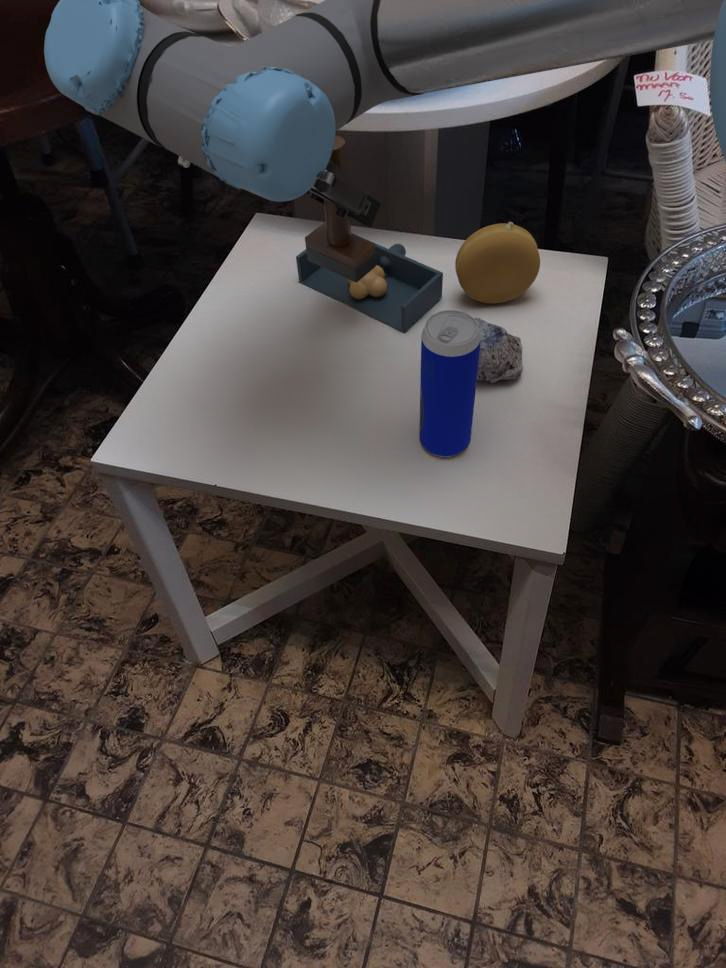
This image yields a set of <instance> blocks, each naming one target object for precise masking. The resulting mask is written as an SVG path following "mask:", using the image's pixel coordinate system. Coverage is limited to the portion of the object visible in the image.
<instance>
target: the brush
mask: <svg viewBox="0 0 726 968" xmlns="http://www.w3.org/2000/svg"><path fill="white" fill-rule="evenodd" d="M346 152H347V151H346V141H345V139H344V138H343V137H342V136H339V135H335V141H334V147H333V151H332V154H331V157H330V160H331V161H333V162H335V163H334V164H336V165H337V166H338V167H339V169H340V170H341V171H343V172H344V173H345V174H347V175H348V167H347V153H346ZM323 200H324V205H323V208H324V218H325V221H324V222H322V224H320V225H319V226H317V228H315V229H314V230H313V231H311V232H309V234H307V235H306V236H304V242H305V249H306V252H307V260H308V261H310V262H312V263H315V264H317V265H319V266H321V267H323V268H325V269H327V270H330V271H332V272H334V273H336V274H338V275H340V276H343V277H345V278H347V279H349V280H351V281H353V282H356V283H357V282H358V281H359V280H360V279H362V278H363V277H364V276H365V275H366V274H368V273H369V272H370V271H371V270H372V269H374V268H375V267H376V256H375V242H374V241H371V240H369V239H367V238H364V237H362V236H360V235H358V236H357V234H355V233H353V234H352V226H351V223H352V222H351V217H350V216H348V215H346V218H342V217H340V216H338V215H336V212H337V209H336V205H334V204H332V203H330V202H329V201H327V200H325V199H323ZM354 234H355V235H354ZM359 236H360V237H359ZM361 237H362V238H361ZM366 239H367V240H366ZM368 240H369V241H368ZM373 242H374V243H373Z"/></svg>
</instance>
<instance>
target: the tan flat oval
mask: <svg viewBox="0 0 726 968" xmlns="http://www.w3.org/2000/svg"><path fill="white" fill-rule="evenodd" d="M454 267H455V273H456V277H457V279H458V283H459V285H460V288H461V290H463V292H464V293H465V294H466V295H467V296H468V297H470V298H471V299H473V300H475V301H477V302H479V303H483V304H500V303H505V302H509V301H512V300H514V299H516V298H518V297H520V296H521V295H523V294H524V293H525V292H526V291H527V290H528V289H530V287H531V286H532V285H533V283H534V282H535V281H536V279H537V277H538V275H539V272H540V269H541V255H540V252H539V248H538V244H537V242H536V240H535V238H534V237H533V235H532V234H531V233H530V232H529V231H528V230H526V229H525V228H524V227H522V226H519V225H517V224H514V222H512V221H508V223H505V222H504V223H494V224H491V225H487V226H485V227H484V226H483V227H482V228H480V229H478V230H476V231H475V232H473V233H472V234H471V235H469V236H468V237H467V238H466V239H465V240H464V242H463V243H462V244H461V246H460V248H459V249H458V251H457V253H456V257H455V265H454Z"/></svg>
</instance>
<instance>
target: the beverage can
mask: <svg viewBox="0 0 726 968" xmlns="http://www.w3.org/2000/svg"><path fill="white" fill-rule="evenodd" d="M480 343H481V333H480V330H479V326H478V323H477V322H476V320H475V319H474V318H473V316H472V315H471V314H469V313H467V312H464V311H462V310H457V309H446V310H441V311H438V312H435V313H433V314H432V315H430V316H429V317H428V318H427V319H426V321H425V324H424V326H423V329H422V331H421V337H420V379H419V381H420V383H419V388H420V389H419V428H418V429H419V430H418V431H419V432H418V433H419V434H418V436H419V437H418V439H419V442H420V444H421V446H422V447H423V448H424V450H426V452H429V453H430V454H432V455H433V456H436V457H440V458H451V457H455V456H457V455H459V454H461V453H463V452H464V451H465V450H466V449H467V448H468V447H469V446H470V444H471V440H472V431H473V420H474V411H475V403H476V402H475V401H476V400H475V399H476V393H477V392H476V391H477V381H478V380H477V372H478V362H479V353H480Z"/></svg>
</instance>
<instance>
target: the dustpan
mask: <svg viewBox="0 0 726 968" xmlns="http://www.w3.org/2000/svg"><path fill="white" fill-rule="evenodd" d="M351 233H352V232H351ZM352 234H354V235H357V234H356V233H352ZM357 236H359V237H361V238H363V237H362V236H361V235H357ZM365 239H366V240H368V241H370V240H369V239H367V238H365ZM372 242H373V243H375V242H374V241H372ZM406 254H407V250H406V248H405V246H404V245H403V244H401V243H394V244H393V245H391V246H390V247H389V248H388V247H385V246H383V245H380V244H378V243H375V256H376V265H378V266H380V267H381V268H382V269H383V270H384V273H385V278H384V279H385V281H386V282H387V291H386V293H385V294H384V295H383V296H381V297H374V296H372V295H367V296H366V297H365V298H363V299H356V298H354V297H353V296H352V295H351V293H350V291H349V287H350V284H349V282H348V279H347V278H345V277H343V276H340V275H338V274H336V273H334V272H332V271H330V270H327V269H325V268H323V267H321V266H319V265H317V264H315V263H312V262H310V261H308V260H307V252H306V248H305V249H303V250H302V251H301V252H300V253H299V254H297V255H296V256H295V260H296V261H295V262H296V268H297V269H296V270H297V275H298V282H299V283H300V284H302V285H304V286H306V287H308V288H310V289H313V290H315V291H316V292H319V293H321V294H323V295H325V296H327V297H329V298H331V299H333V300H335V301H337V302H339V303H342V304H343V305H346V306H348V307H349V308H351V309H354V310H356V311H358V312H360V313H362V314H364V315H366V316H368V317H370V318H372V319H374V320H376V321H378V322H380V323H382V324H385V325H387V326H388V327H391V328H393V329H395V330H397V331H399V332H401V333H403V334H406V333H407V332H408V331H409V330H410V329H411V328H412V327H413V326H414V325H416V324H417V322H418V321H419V320H421V318H423V317H424V316H425V315H426V314H427V313H428V312H429V311H430V310H431V309H432V308H433V307H434V306H435V305H437V303H439V301H440V300H441V299H442V297H443V284H444V283H443V280H444V272H442V271H440V270H438V269H435V268H433V267H431V266H429V265H426V264H424V263H422V262H419V261H417V260H415V259H413V258H410V257H408V256H406Z"/></svg>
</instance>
